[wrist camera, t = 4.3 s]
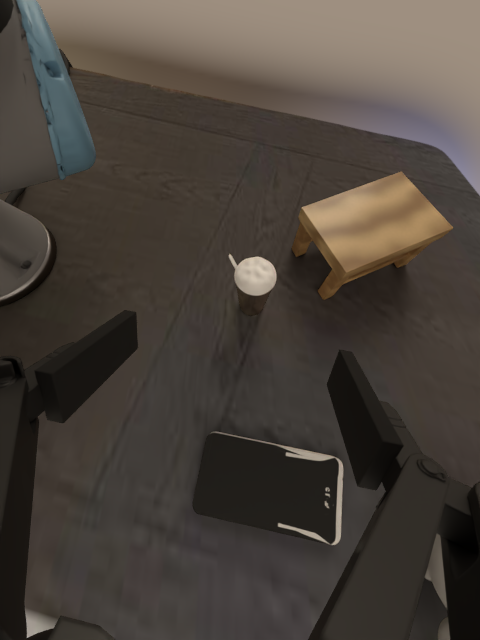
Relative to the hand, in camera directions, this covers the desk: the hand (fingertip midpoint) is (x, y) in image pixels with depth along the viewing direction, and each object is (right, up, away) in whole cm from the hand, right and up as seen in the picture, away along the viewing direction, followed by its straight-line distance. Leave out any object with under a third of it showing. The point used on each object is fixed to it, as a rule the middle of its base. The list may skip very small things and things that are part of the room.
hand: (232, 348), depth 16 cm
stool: (+17, +11, +21) cm, 29 cm away
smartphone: (+4, -16, +11) cm, 20 cm away
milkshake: (+2, +4, +18) cm, 19 cm away
